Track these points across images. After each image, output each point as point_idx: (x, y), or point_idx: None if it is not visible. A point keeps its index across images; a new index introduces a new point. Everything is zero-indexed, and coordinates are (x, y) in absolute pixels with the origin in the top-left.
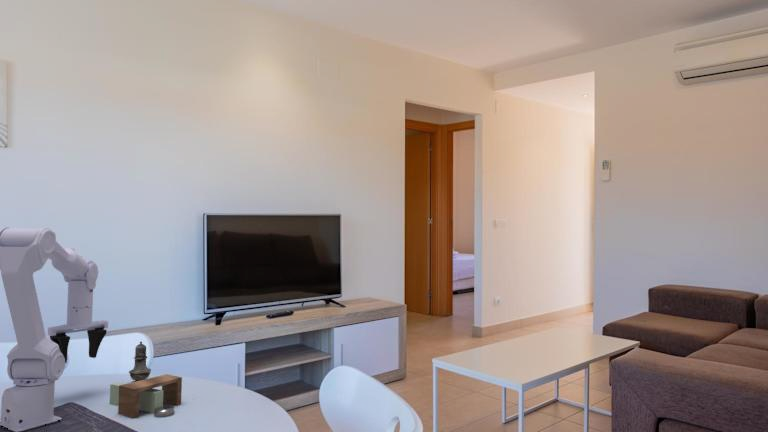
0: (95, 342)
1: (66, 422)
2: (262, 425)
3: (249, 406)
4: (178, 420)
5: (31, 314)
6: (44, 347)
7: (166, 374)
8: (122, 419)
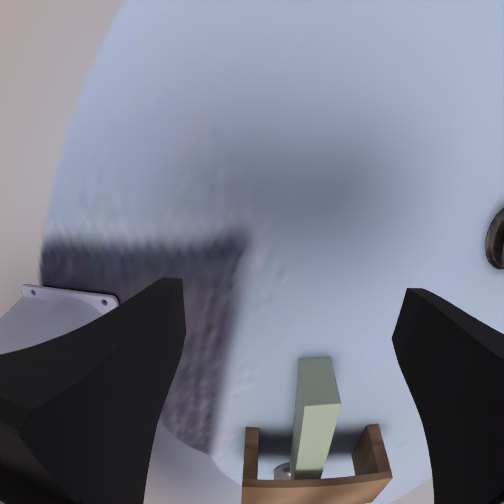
0: (434, 431)
1: None
2: None
3: (379, 496)
4: None
5: None
6: None
7: (389, 479)
8: (228, 448)
